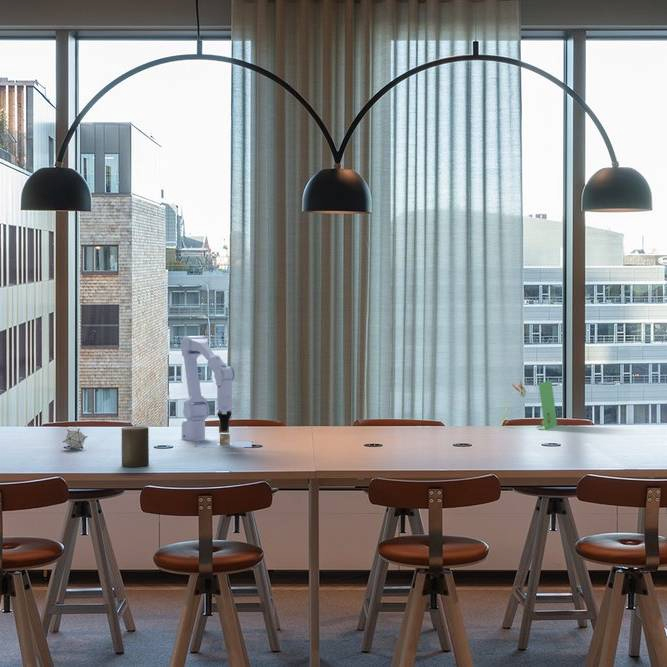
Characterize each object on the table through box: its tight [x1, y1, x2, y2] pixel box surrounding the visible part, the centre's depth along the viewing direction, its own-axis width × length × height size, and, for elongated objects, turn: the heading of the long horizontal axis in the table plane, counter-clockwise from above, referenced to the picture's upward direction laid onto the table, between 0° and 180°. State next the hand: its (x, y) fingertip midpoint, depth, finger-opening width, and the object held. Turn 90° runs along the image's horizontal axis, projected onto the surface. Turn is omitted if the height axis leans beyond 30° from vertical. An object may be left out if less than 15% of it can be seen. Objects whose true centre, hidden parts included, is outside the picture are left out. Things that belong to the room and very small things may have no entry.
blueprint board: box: [196, 441, 253, 449], centre depth 433 cm, size 22×15×1 cm
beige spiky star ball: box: [62, 428, 89, 451], centre depth 423 cm, size 9×8×10 cm
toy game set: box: [498, 379, 558, 431], centre depth 500 cm, size 22×25×24 cm
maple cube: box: [219, 433, 231, 445], centre depth 433 cm, size 4×4×4 cm
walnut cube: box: [218, 421, 230, 434], centre depth 432 cm, size 4×4×4 cm
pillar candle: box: [121, 425, 150, 468], centre depth 383 cm, size 10×10×15 cm
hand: (224, 430), depth 432 cm, fingers closed on walnut cube, 4 cm apart
